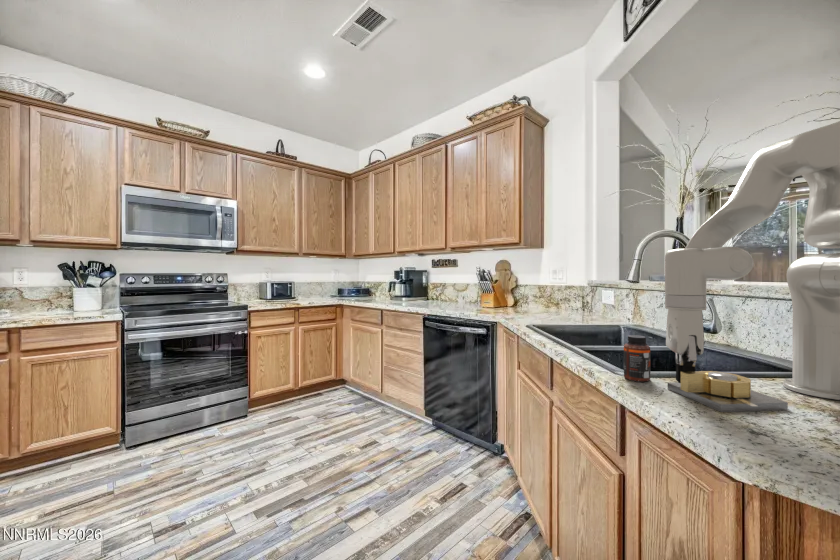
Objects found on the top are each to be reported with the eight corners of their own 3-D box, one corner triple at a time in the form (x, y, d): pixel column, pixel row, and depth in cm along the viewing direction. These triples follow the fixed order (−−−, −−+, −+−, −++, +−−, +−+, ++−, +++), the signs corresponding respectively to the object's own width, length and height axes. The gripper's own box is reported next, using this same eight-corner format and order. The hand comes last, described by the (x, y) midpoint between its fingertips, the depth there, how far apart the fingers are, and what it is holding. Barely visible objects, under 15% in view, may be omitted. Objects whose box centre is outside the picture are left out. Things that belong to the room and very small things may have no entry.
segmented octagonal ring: (724, 383, 81) (724, 366, 81) (763, 397, 72) (763, 378, 72) (669, 384, 81) (669, 367, 81) (700, 398, 72) (700, 378, 72)
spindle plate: (723, 387, 84) (723, 365, 84) (796, 412, 68) (796, 386, 68) (667, 388, 83) (667, 367, 83) (727, 414, 68) (727, 388, 67)
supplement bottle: (654, 383, 87) (654, 338, 87) (628, 382, 89) (628, 337, 88) (644, 376, 93) (644, 334, 93) (620, 375, 94) (620, 334, 94)
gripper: (657, 300, 88) (657, 372, 88) (675, 305, 74) (675, 390, 74) (693, 300, 85) (694, 375, 85) (719, 305, 71) (719, 395, 71)
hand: (685, 382), depth 80 cm, fingers closed
